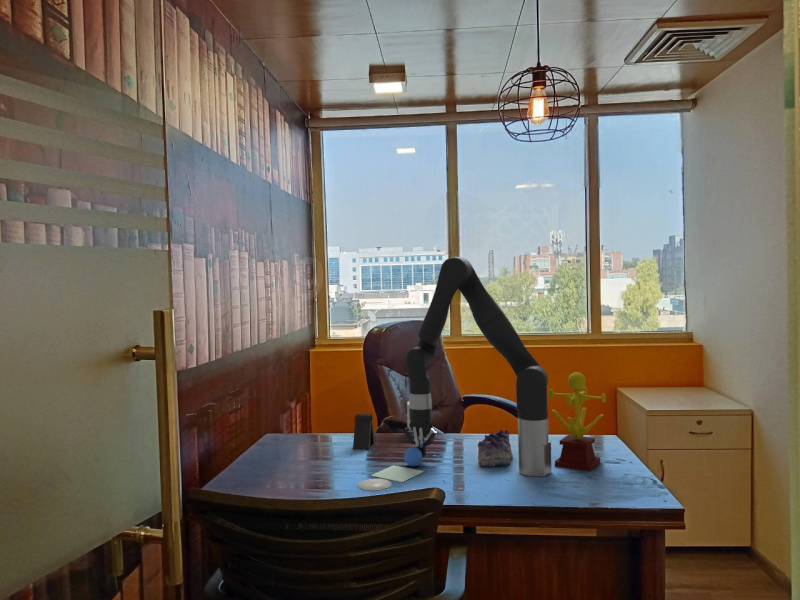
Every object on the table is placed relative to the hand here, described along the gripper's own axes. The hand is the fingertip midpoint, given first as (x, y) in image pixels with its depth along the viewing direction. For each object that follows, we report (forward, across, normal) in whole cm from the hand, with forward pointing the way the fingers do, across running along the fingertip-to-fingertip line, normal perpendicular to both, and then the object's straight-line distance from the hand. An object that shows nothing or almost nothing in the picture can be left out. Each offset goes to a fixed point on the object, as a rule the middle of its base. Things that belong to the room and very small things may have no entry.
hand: (421, 457), depth 199 cm
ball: (-1, 0, -5) cm, 5 cm away
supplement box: (+2, -22, +31) cm, 38 cm away
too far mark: (+2, 0, -26) cm, 26 cm away
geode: (+2, +20, +15) cm, 25 cm away
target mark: (+2, 0, -14) cm, 14 cm away
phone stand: (+2, -29, +6) cm, 29 cm away
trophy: (+2, +45, +24) cm, 51 cm away
